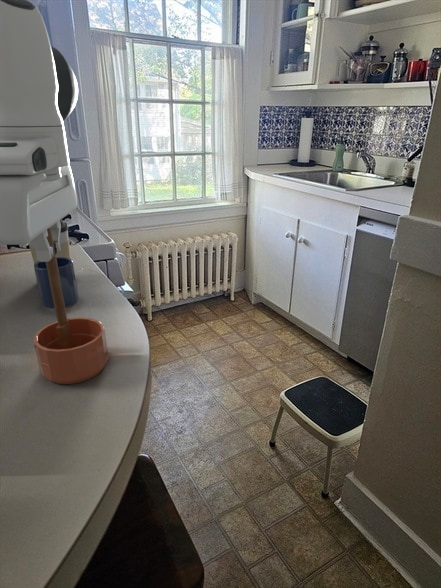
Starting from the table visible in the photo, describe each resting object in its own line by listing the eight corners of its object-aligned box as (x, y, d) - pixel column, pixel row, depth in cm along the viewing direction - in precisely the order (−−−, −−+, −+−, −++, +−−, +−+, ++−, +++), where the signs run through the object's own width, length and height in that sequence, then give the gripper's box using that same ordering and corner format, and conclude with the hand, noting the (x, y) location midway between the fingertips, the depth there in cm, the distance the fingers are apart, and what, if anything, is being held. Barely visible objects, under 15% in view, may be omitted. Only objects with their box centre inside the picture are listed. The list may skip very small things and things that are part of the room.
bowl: (30, 387, 57) (21, 351, 54) (54, 349, 66) (48, 317, 63) (99, 385, 57) (94, 350, 55) (114, 348, 66) (110, 316, 64)
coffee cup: (37, 276, 96) (25, 216, 89) (76, 272, 98) (67, 213, 92) (34, 291, 88) (20, 225, 81) (76, 286, 90) (66, 222, 84)
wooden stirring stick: (60, 356, 60) (33, 220, 51) (66, 346, 62) (42, 215, 54) (69, 356, 60) (44, 220, 51) (75, 345, 62) (52, 215, 54)
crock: (36, 311, 79) (27, 269, 75) (49, 296, 85) (42, 257, 82) (72, 310, 79) (65, 269, 75) (83, 295, 86) (76, 256, 82)
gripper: (37, 145, 58) (53, 236, 64) (-42, 159, 39) (-10, 285, 45) (80, 145, 58) (92, 235, 64) (21, 159, 40) (46, 285, 45)
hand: (49, 256), depth 54 cm, fingers closed on wooden stirring stick, 1 cm apart
